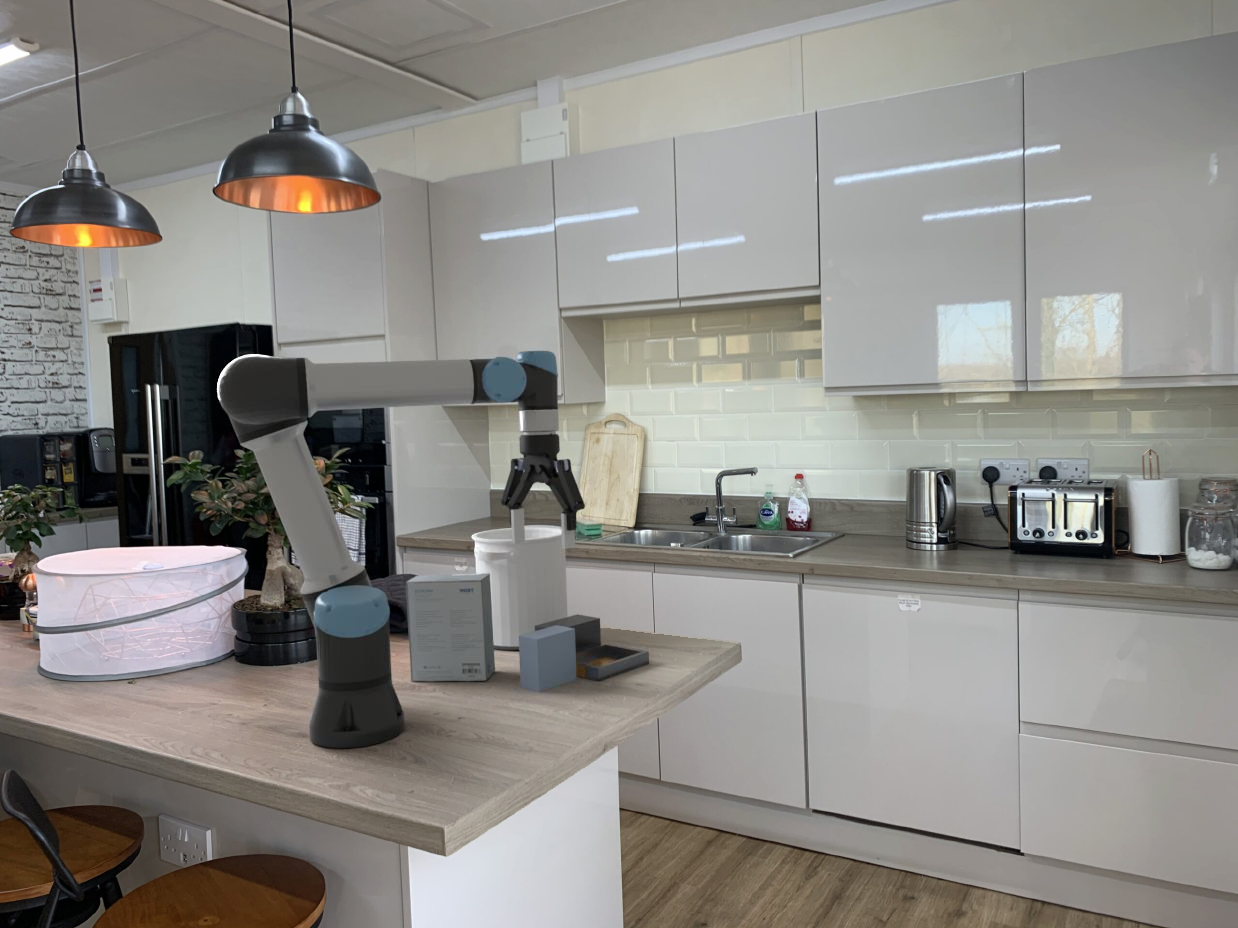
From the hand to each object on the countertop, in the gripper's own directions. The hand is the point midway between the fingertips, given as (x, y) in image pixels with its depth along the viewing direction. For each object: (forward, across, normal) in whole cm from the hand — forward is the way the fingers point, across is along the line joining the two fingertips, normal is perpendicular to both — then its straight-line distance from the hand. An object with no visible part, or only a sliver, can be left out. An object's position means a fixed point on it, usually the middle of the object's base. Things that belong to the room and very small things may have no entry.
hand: (542, 545), depth 177 cm
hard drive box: (+27, +19, +8) cm, 34 cm away
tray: (+26, +2, -14) cm, 30 cm away
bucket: (+27, +28, -20) cm, 44 cm away
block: (+27, 0, 0) cm, 27 cm away
